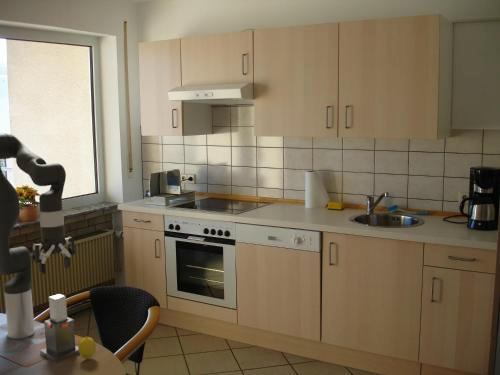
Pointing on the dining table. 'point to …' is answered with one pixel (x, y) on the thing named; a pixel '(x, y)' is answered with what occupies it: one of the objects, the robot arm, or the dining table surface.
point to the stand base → (59, 340)
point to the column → (58, 308)
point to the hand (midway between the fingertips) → (55, 270)
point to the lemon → (87, 347)
